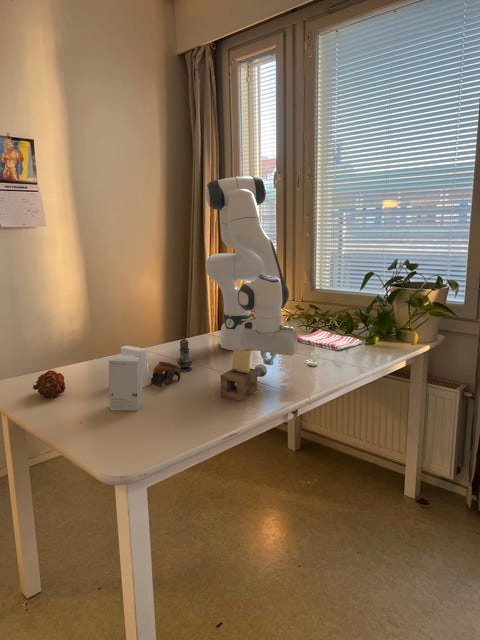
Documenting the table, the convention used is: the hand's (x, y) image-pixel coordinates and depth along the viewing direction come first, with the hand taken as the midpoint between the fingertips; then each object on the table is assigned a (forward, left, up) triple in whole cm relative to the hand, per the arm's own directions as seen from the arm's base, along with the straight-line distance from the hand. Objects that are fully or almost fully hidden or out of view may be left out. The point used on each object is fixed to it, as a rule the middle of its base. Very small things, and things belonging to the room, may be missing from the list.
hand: (268, 364), depth 158 cm
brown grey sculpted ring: (+22, -26, -5) cm, 34 cm away
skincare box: (+43, -23, -5) cm, 49 cm away
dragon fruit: (+48, -50, -5) cm, 70 cm away
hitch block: (+18, -1, -5) cm, 19 cm away
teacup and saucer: (-22, +5, -5) cm, 23 cm away
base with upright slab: (+27, -35, -5) cm, 45 cm away
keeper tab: (+18, 0, +6) cm, 19 cm away
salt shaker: (+7, -30, -5) cm, 31 cm away
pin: (+13, 0, -3) cm, 13 cm away
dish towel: (-54, +1, -5) cm, 54 cm away
